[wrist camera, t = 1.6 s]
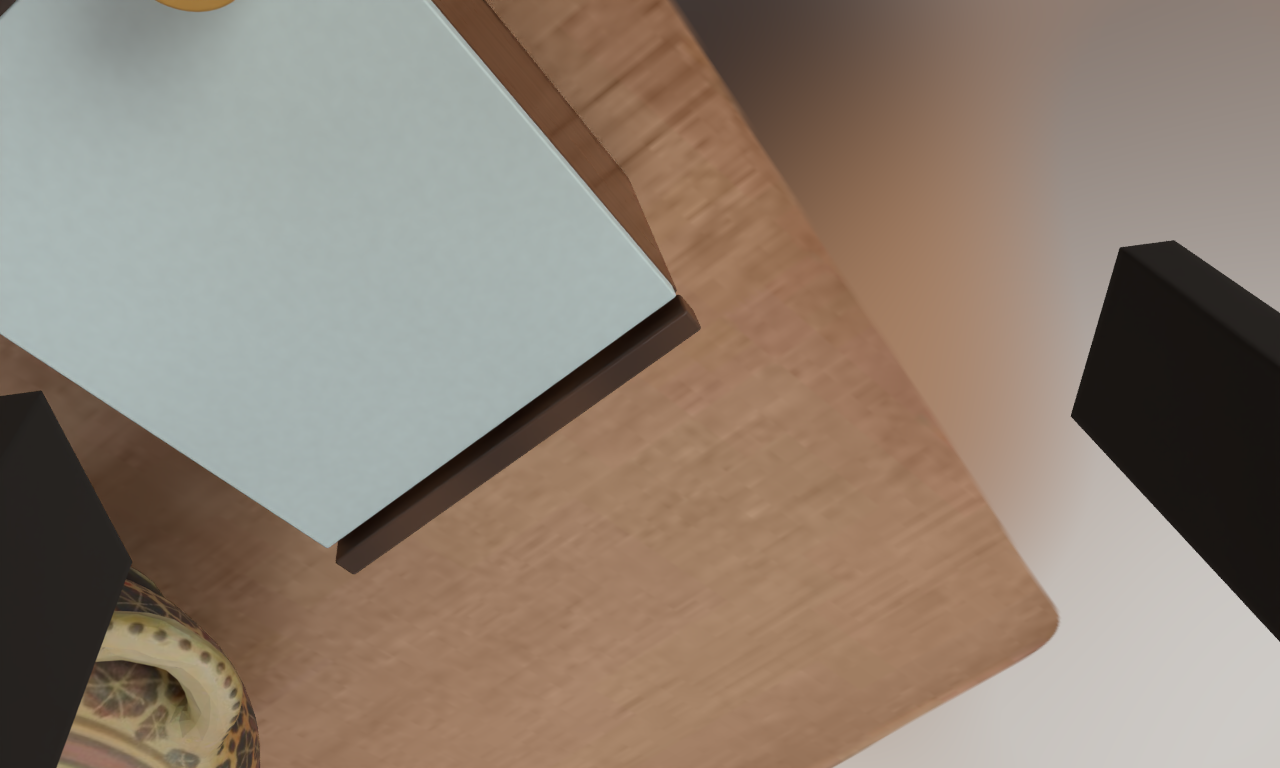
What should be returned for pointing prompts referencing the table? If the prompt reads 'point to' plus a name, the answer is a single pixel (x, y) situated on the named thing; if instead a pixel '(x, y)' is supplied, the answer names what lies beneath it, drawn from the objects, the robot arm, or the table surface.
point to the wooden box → (585, 383)
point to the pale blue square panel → (295, 238)
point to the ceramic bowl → (160, 694)
